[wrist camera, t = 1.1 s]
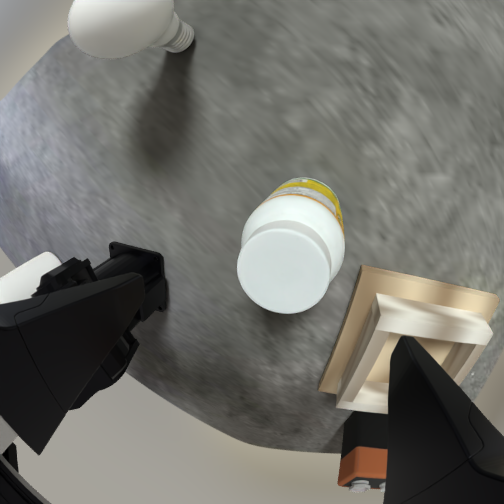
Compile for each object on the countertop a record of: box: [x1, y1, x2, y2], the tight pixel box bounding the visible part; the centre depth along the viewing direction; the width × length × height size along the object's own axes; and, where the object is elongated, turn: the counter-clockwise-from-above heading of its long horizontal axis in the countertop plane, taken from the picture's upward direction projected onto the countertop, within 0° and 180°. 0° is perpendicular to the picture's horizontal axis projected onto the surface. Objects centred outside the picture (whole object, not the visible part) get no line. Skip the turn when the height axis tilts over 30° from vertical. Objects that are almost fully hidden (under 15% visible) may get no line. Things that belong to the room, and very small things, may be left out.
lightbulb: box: [68, 0, 194, 59], centre depth 12 cm, size 6×6×11 cm
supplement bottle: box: [237, 178, 345, 314], centre depth 16 cm, size 5×5×10 cm
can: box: [0, 252, 62, 304], centre depth 27 cm, size 6×6×12 cm
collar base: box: [318, 265, 500, 414], centre depth 20 cm, size 14×14×4 cm
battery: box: [338, 411, 388, 492], centre depth 22 cm, size 4×7×10 cm, turn 79°
